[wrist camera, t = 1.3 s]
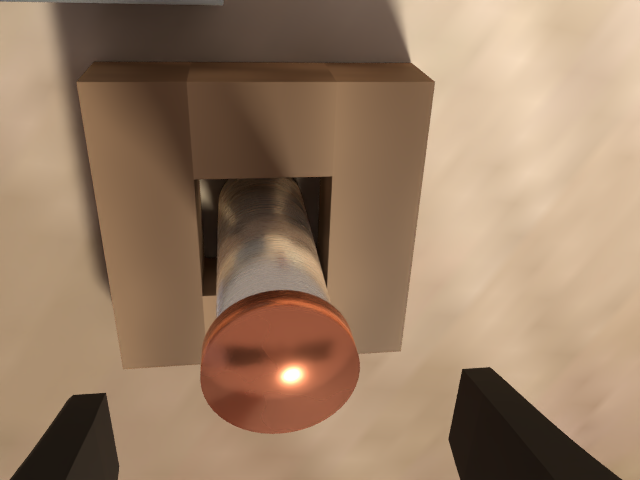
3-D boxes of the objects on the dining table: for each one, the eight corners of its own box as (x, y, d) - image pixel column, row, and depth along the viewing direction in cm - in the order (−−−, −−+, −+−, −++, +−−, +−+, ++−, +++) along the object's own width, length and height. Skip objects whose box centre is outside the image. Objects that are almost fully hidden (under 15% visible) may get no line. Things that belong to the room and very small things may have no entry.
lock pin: (212, 250, 22) (205, 439, 14) (206, 158, 20) (194, 315, 12) (309, 246, 22) (354, 427, 14) (312, 156, 21) (365, 306, 13)
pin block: (132, 325, 23) (123, 369, 21) (94, 61, 18) (76, 82, 16) (384, 312, 24) (400, 351, 22) (411, 63, 19) (435, 82, 17)
